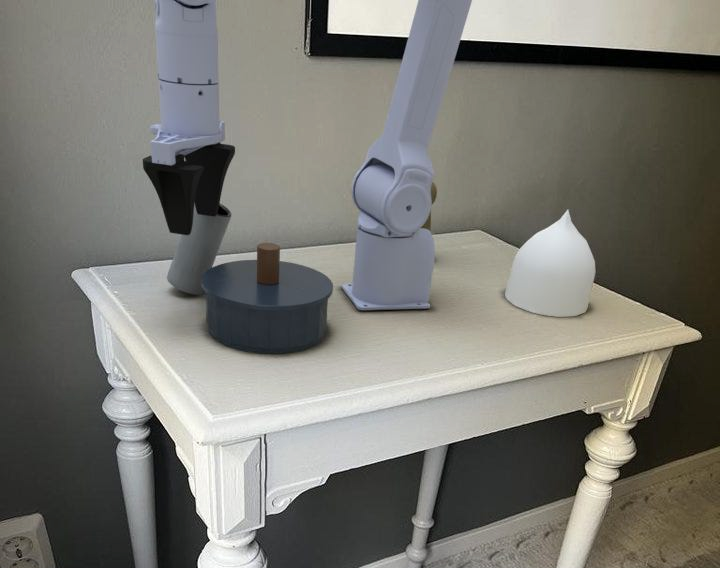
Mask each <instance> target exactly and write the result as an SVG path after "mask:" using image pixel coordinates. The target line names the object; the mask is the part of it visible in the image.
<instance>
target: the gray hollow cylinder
mask: <svg viewBox="0 0 720 568" xmlns="http://www.w3.org/2000/svg"><path fill="white" fill-rule="evenodd" d="M231 219H232V212H231V210H230V209H229V208H227V207H226V206H225V205H223V204H222V203H221V202H220V203H219V208H218V212H217V215H216V216H215V217H213V216H206V215H199V214H197V211H196V207H195V203H194V215H193V225H192V230H191V234H189V235H182V234H180V236H179V240H178V243H177V246H176V249H175V250H174V251H175V252H174V254H173V258H172V261H171V264H170V266H169V269H168V272H167V275H166V280H167V282H168V283H169V285H171V286H172V287H174V288H175V289H177V290H178V291H181V292H183V293H186V294H188V295H189V294H190V295H200V294H202V293H203V292H204V290H203V288H202V285H201V278H202V275H203V274H204V273H205V272H206V271H207V270H209V269H210V268H212V267H214V263H215V261H216V258H217V256H218V253H219V250H220V248H221V245H222V243H223V240H224V237H225V234H226V231H227V230H228V226H229V224H230V221H231Z"/></svg>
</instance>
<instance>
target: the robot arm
mask: <svg viewBox="0 0 720 568" xmlns="http://www.w3.org/2000/svg"><path fill="white" fill-rule="evenodd" d="M472 2H473V0H417V4H416V7H415V8H416V9H415V11H414V15H413V19H412V22H411V27H410V30H409V33H408V34H409V35H408V38H407V41H406V44H405V49H404V53H403V56H402V60H401V64H400V66H399V72H398V75H397V79H396V83H395V85H394V89H393V93H392V98H391V101H390V104H389V108H388V113H387V116H386V120H385V123H384V127H383V131H382V134H381V135H380V137H378V138H377V140H375V141H374V142H373V143H372V144H371V145H370V146H369V148H368V150H367V153H366V157H365V160H364V162H363V163H362V165H361V166H360V168H359V169H358V170H357V172H356V173H355V174H354V176H353V180H352V182H351V189H350V191H351V193H350V194H351V199H352V202H353V203H354V206H355V208H357V210H358V218H357V227H356V239H355V251H354V260H353V261H354V262H353V273H352V283H343V284H342V285H341V289H342V290H343V291H344V293H345V294H346V296H347V297H348V298H349V299H350V301H351V302H352V304H353V305H354V306H355V308H356V309H357V310H358V311H384V310H388V311H389V310H420V309H430V308H431V304H430V303H429V300H430V299H429V298H430V292H431V286H432V279H433V273H434V266H435V258H436V248H435V247H436V246H435V245H436V244H435V239H434V236H433V234H432V231H431V232H430V231H429V230H428V229H424V228H421V227H422V226H423V224H424V223H425V222H426V220H427V219H428V216H429V214H430V211H431V212H432V205H433V204H432V200H431V184H432V182H433V181H434V177H435V170H434V167H433V163H432V160H431V156H430V154H429V153H430V152H429V146H430V143H431V140H432V136H433V133H434V129H435V126H436V123H437V121H438V116H439V112H440V109H441V106H442V103H443V100H444V97H445V93H446V89H447V86H448V83H449V79H450V77H451V76H450V75H451V72H452V69H453V67H454V62H455V59H456V56H457V52H458V49H459V45H460V42H461V39H462V36H463V33H464V30H465V25H466V22H467V19H468V15H469V13H470V10H471V9H470V8H471V5H472ZM154 11H155V21H154V33H155V34H154V35H155V36H154V37H155V52H156V66H157V67H156V68H157V83H158V99H159V100H158V101H159V117H160V123H156V124H153V125H150V126H149V131H150V134H151V135H156V136H155V138H154V139H152V140H150V152H151V153H150V154H151V155H148V156H146V157H143V158H142V169H143V171H144V173H145V174H146V175H147V177H148V179H149V180H150V182H151V184H152V186H153V187H154V190H155V192H156V195H157V197H158V199H159V202H160V205H161V209H162V211H163V215H164V219H165V222H166V226H167V228H168V231H169V233H170V234H175V235H181V234H182V235H189V234H191V230H192V225H193V215H194V203H195V207H196V211H197V214H199V215H206V216H213V217H215V216H216V215H217V212H218V208H219V203H220V204H221V198H222V192H223V189H224V188H223V187H224V183H225V179H226V176H227V172H228V169H229V167H230V165H231V163H232V161H233V158H234V157H235V155H236V146H235V145H233V144H225V143H221V142H224V141H226V123H225V122H226V121H225V120H220V88H219V85H220V83H219V39H218V38H219V37H218V36H219V35H218V30H219V29H218V26H217V0H154ZM431 204H432V205H431Z"/></svg>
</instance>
